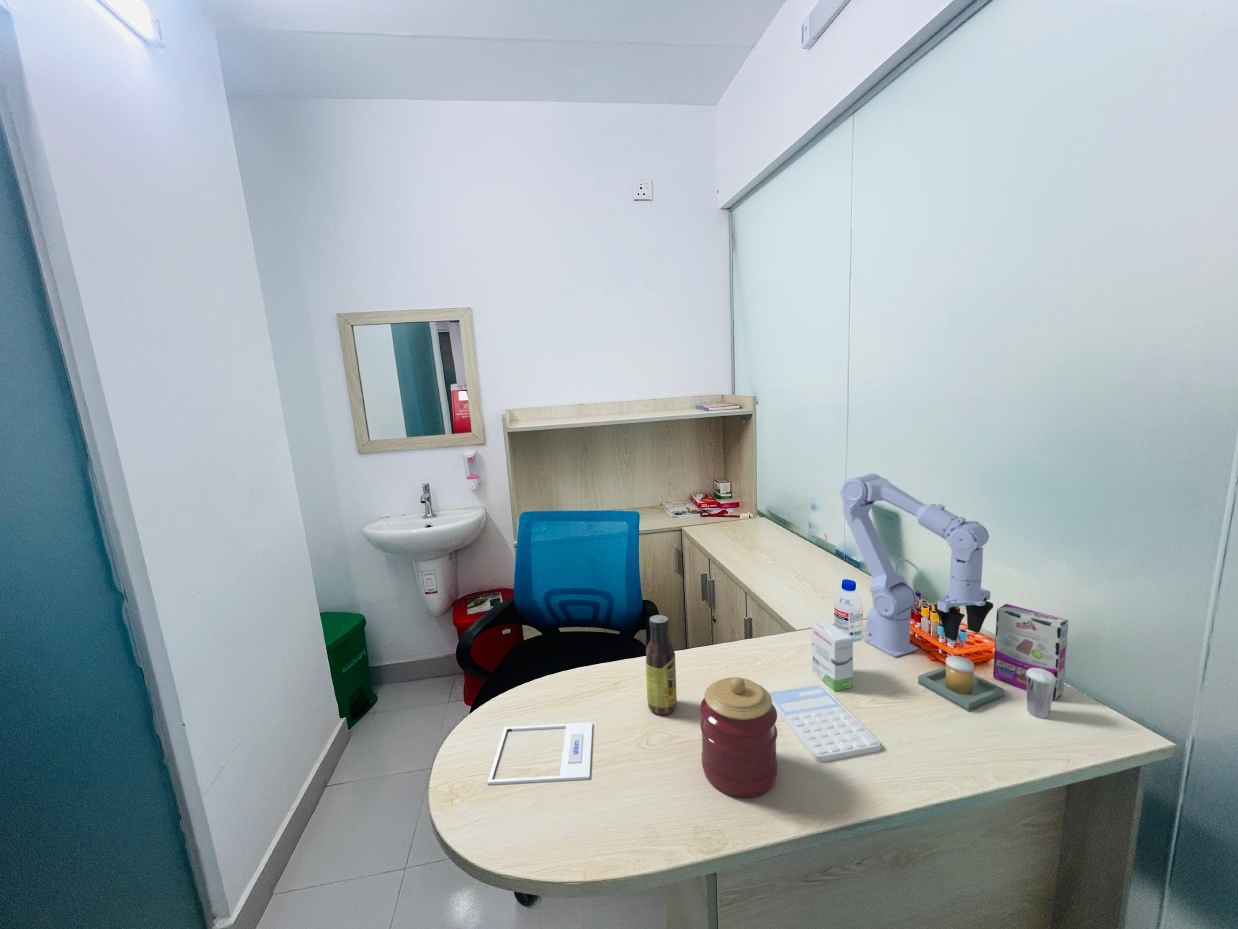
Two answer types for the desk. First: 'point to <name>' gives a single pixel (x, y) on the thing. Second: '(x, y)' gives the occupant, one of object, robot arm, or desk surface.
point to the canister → (739, 737)
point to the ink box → (832, 656)
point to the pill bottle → (959, 674)
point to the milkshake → (1040, 691)
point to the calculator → (823, 724)
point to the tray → (980, 694)
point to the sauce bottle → (660, 668)
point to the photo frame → (573, 754)
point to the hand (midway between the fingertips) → (962, 634)
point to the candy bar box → (1029, 646)
